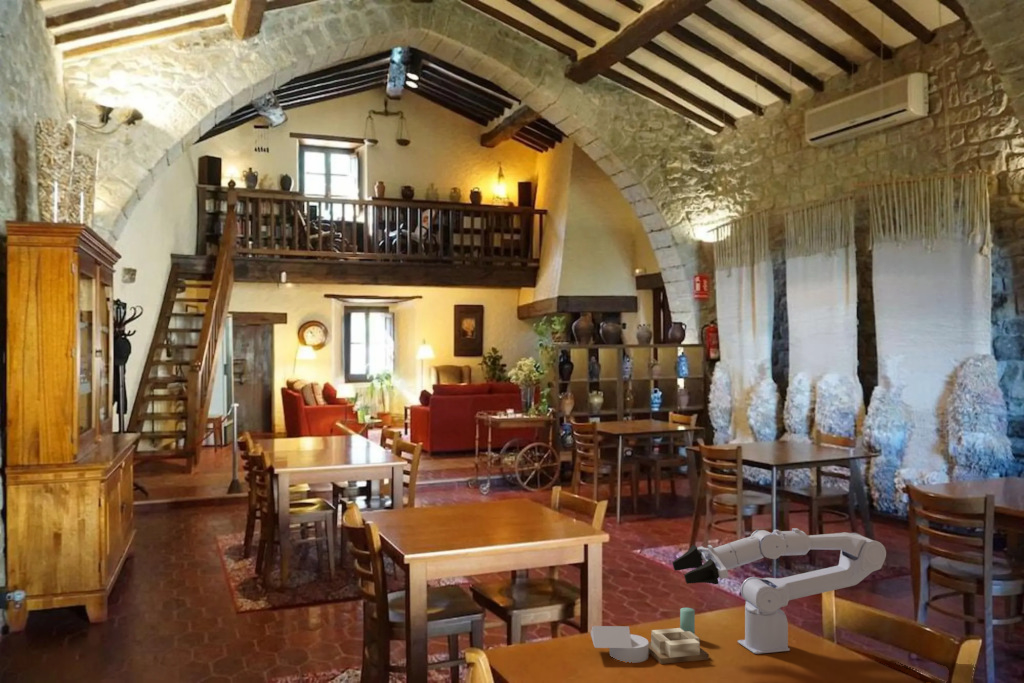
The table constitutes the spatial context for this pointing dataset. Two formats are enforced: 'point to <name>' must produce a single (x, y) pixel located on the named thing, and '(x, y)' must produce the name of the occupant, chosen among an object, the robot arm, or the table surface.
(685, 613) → the peg
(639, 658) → the wedge on round base
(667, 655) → the socket board
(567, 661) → the table surface
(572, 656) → the table surface
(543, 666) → the table surface
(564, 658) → the table surface
